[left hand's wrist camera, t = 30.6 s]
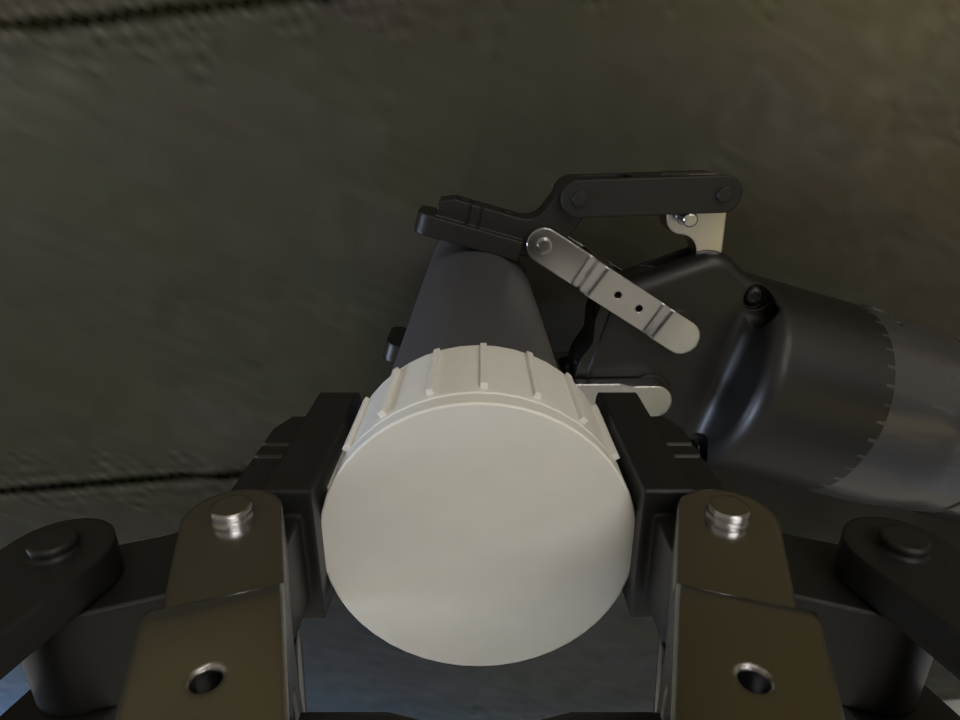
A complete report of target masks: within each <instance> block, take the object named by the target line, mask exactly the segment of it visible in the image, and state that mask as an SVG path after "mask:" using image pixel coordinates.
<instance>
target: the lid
mask: <svg viewBox="0 0 960 720" xmlns="http://www.w3.org/2000/svg"><path fill="white" fill-rule="evenodd" d="M342 450H343V452H342V454H341V456H340V459H339V461H338V463H337V466H336V468H335V470H334V473H333V475H332V477H331V480H330V482H329V484H328V492H327V494H326V497H325V501H324V504H323V508H322V512H321V525H322V535H323V544H324V553H325V562H326V570H327V574H328V577H329V580H330V582H331V584H332V586H333V588H334V589H335V591H336V593H337V595H338V596H339V598H340V599H341V601H342V602H343V603H344V605H345V606H346V607H347V609H348V610H349V611H350V612H351V613H352V614H353V615H354V616H355V617H356V618H357V619H358V620H359V622H360V623H362V624H363V625H364V626H365V627H367V628H368V629H369V630H370V631H371V632H373V633H374V634H375V635H377V636H379V637H380V638H382V639H383V640H385V641H386V642H388V643H390V644H392V645H394V646H396V647H398V648H400V649H402V650H404V651H406V652H408V653H411V654H414V655H417V656H419V657H422V658H426V659H430V660H434V661H438V662H442V663H448V664H455V665H466V666H490V665H502V664H508V663H515V662H519V661H523V660H527V659H531V658H535V657H537V656H540V655H543V654H545V653H548V652H551V651H553V650H555V649H557V648H559V647H561V646H563V645H565V644H567V643H569V642H571V641H572V640H574V639H575V638H577V637H578V636H580V635H581V634H583V633H584V632H585V631H587V630H588V629H589V628H590V627H591V626H593V625H594V624H595V623H596V622H597V621H598V620H599V619H600V618H601V617H602V616H603V615H604V614H605V613H606V612H607V611H608V610H609V608H610V607H611V606H612V604H613V603H614V601H615V600H616V599H617V597H618V596H619V594H620V593H621V591H622V589H623V587H624V585H625V583H626V581H627V579H628V576H629V571H630V563H631V554H632V545H633V536H634V526H635V509H634V506H633V503H632V499H631V496H630V493H629V490H628V488H627V485H626V483H625V481H624V478H623V476H622V473H621V471H620V469H619V466H618V464H617V461H616V460H617V459H619V458H620V457H619V455H618V452H617V450H616V448H615V445H614V443H613V441H612V438H611V436H610V434H609V431H608V429H607V427H606V424H605V422H604V420H603V417H602V415H601V413H600V410H599V408H598V406H597V405H596V404H595V405H593V406H592V405H591V403H590V402H589V400H588V399H587V397H586V396H585V394H584V393H583V392H582V391H581V390H580V389H579V388H578V387H577V385H576V384H575V383H574V381H573V379H572V376H571V375H570V374H569V373H566V374H563V373H562V372H561V371H559V370H558V369H556V368H555V367H553V366H552V365H550V364H548V363H547V362H545V361H543V360H541V359H538V358H536V357H534V356H533V353H532V352H529V351H527V352H526V353H523V352H520V351H517V350H514V349H509V348H503V347H498V346H487V343H480V345H472V346H459V347H454V348H449V349H443V350H440V348H437V349H434V351H433V353H431V354H428V355H425V356H423V357H421V358H419V359H416V360H414V361H412V362H410V363H408V364H407V365H405V366H404V367H402V368H401V369H399V368H398V367H396V368H395V369H394V370H393V371H392V374H391V376H390V377H389V378H388V379H387V380H385V381H384V382H383V383H382V384H381V385H380V387H379V388H378V389H377V390H376V391H375V392H374V393H373V395H372V396H371V397H370V399H369V398H368V397H365V399H364V400H363V402H362V404H361V407H360V409H359V411H358V414H357V416H356V418H355V421H354V423H353V425H352V428H351V430H350V432H349V434H348V437H347V439H346V441H345V444H344V446H343V448H342Z"/></svg>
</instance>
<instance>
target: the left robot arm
mask: <svg viewBox="0 0 960 720" xmlns="http://www.w3.org/2000/svg"><path fill="white" fill-rule="evenodd" d="M361 404H362V401H361V397H360V394H359V393H320V394H319V396H318V397H317V399H316V401H315V402H314V404H313V406H312V407H311V409H310V411H309V412H308V414H307V416H306V417H292V418H290V419H289V420H287V421H286V422H284V423H282V424H281V425H279V426H278V427H276V428H275V429H273V431H272V432H271V434H270V435H269V437H268V438H267V440H266V441H265V443H264V446H262V447H261V448H260V450H259V451H258V453H257V454H256V458H255V459H253V460H252V461H251V463H250V464H249V466H248V467H247V469H246V470H245V472H244V473H243V474H242V476H241V477H240V479H239V480H238V482H237V483H236V485H235V486H234V488H233V489H232V490H231V491H229V492H225V493H222V494H218V495H216V496H213V497H210V498H208V499H206V500H204V501H202V502H201V503H199V504H197V505H196V506H194V507H193V508H192V509H191V510H189V512H188V513H187V514H186V515H185V516H184V518H183V519H182V521H181V524H180V527H179V532H178V533H174V534H171V535H168V536H163V537H159V538H154V539H149V540H144V541H139V542H133V543H128V544H123V545H119V544H118V540H117V537H116V533H115V530H114V527H113V526H112V525H111V524H110V523H108V522H106V521H103V520H100V519H93V518H81V519H72V520H66V521H62V522H58V523H54V524H51V525H48V526H45V527H42V528H40V529H37V530H35V531H32V532H30V533H28V534H26V535H24V536H22V537H21V538H19V539H17V540H16V541H14V542H12V543H11V544H9V545H8V546H6V547H5V548H3V549H1V550H0V680H1V679H2V678H3V677H4V676H5V675H7V674H8V673H9V672H10V671H11V670H13V669H14V668H15V667H16V666H17V665H18V664H20V663H22V666H23V668H24V671H25V674H26V677H27V680H28V682H29V685H30V688H31V689H30V690H29V691H28V692H27V693H26V694H25V695H24V696H23V697H21V698H20V699H19V700H18V701H17V702H16V703H15V704H14V705H12V706H11V707H10V708H9V709H8V710H7V711H6V712H5V713H4V714H2V715H1V716H0V720H417V719H413V718H409V717H405V716H401V715H397V714H393V713H389V712H307V704H306V690H305V677H304V664H303V651H302V643H301V636H300V629H299V627H300V624H301V621H302V618H303V617H326V613H327V610H328V607H329V604H330V601H331V598H332V594H333V591H334V588H333V586H332V584H331V582H330V580H329V577H328V574H327V570H326V562H325V553H324V544H323V535H322V525H321V512H322V508H323V504H324V501H325V497H326V494H327V492H328V484H329V482H330V480H331V477H332V475H333V473H334V470H335V468H336V466H337V463H338V461H339V459H340V456H341V454H342V452H343V450H342V448H343V446H344V444H345V441H346V439H347V437H348V434H349V432H350V430H351V428H352V425H353V423H354V421H355V418H356V416H357V414H358V411H359V409H360V407H361ZM595 404H596V405H597V406H598V408H599V410H600V413H601V415H602V417H603V420H604V422H605V424H606V427H607V429H608V431H609V434H610V436H611V438H612V441H613V443H614V445H615V448H616V450H617V452H618V455H619V457H620V458H619V459H617V460H616V461H617V464H618V466H619V469H620V471H621V473H622V476H623V478H624V481H625V483H626V485H627V488H628V490H629V493H630V496H631V499H632V503H633V506H634V509H635V526H634V536H633V545H632V554H631V563H630V571H629V576H628V579H627V581H626V583H625V585H624V587H623V589H622V590H623V593H624V597H625V600H626V603H627V606H628V610H629V613H630V616H653V618H654V621H655V624H656V627H657V630H658V632H659V635H660V636H659V643H658V651H657V664H656V677H655V690H654V704H653V712H571V713H567V714H563V715H559V716H555V717H551V718H547V719H543V720H960V716H959V715H958V714H956V713H955V712H954V711H953V710H952V709H951V708H950V707H949V706H947V705H946V704H945V703H944V702H943V701H942V700H941V699H940V698H939V697H937V696H936V695H935V694H934V693H933V692H932V691H931V690H930V689H928V688H927V687H926V686H925V685H924V684H925V681H926V678H927V675H928V673H929V670H930V667H931V664H932V661H933V659H936V660H937V661H938V662H939V663H940V664H941V665H943V666H944V667H945V668H946V669H947V670H949V671H950V672H951V673H952V674H953V675H955V676H956V677H957V678H958V679H959V680H960V550H959V549H957V548H955V547H954V546H952V545H951V544H949V543H948V542H946V541H945V540H943V539H941V538H940V537H938V536H936V535H934V534H933V533H930V532H928V531H926V530H924V529H922V528H919V527H917V526H915V525H912V524H909V523H905V522H902V521H898V520H894V519H889V518H882V517H861V518H856V519H853V520H851V521H849V522H847V523H846V524H845V525H844V528H843V530H842V534H841V538H840V542H839V545H836V544H831V543H826V542H821V541H816V540H811V539H806V538H800V537H795V536H791V535H787V534H783V533H782V532H781V527H780V524H779V521H778V519H777V518H776V516H775V515H774V514H773V513H772V512H771V510H769V509H768V508H767V507H766V506H764V505H763V504H761V503H759V502H758V501H756V500H754V499H752V498H750V497H747V496H744V495H742V494H738V493H735V492H731V491H726V490H724V489H723V487H722V486H721V484H720V483H719V481H718V480H717V478H716V477H715V475H714V474H713V473H712V471H711V470H710V468H709V467H708V465H707V464H706V462H705V461H704V459H703V458H701V455H700V453H699V452H698V450H697V449H696V447H695V446H693V445H692V442H691V440H690V439H689V437H688V436H687V434H686V433H685V431H684V430H683V428H681V427H679V426H678V425H676V424H675V423H673V422H672V421H670V420H669V419H667V418H666V417H664V416H650V414H649V413H648V411H647V409H646V408H645V406H644V404H643V403H642V401H641V399H640V398H639V396H638V394H637V393H636V392H598V393H597V396H596V400H595Z"/></svg>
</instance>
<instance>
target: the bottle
mask: <svg viewBox="0 0 960 720" xmlns="http://www.w3.org/2000/svg"><path fill="white" fill-rule="evenodd" d="M480 343H487V346H498V347H503V348H509V349H514V350H517V351H520V352H523V353H526V352H527V351H529V352H532V353H533V356H534V357H536V358H538V359H541V360H543V361H545V362H547V363H548V364H550V365H552V366H553V367H555V368H556V369H558V367H557V364H556V361H555V358H554V355H553V352H552V349H551V346H550V343H549V340H548V337H547V334H546V331H545V328H544V325H543V322H542V319H541V316H540V313H539V310H538V307H537V304H536V301H535V298H534V295H533V292H532V289H531V286H530V283H529V280H528V277H527V274H526V271H525V268H524V265H523V262H522V259H521V256H520V255H519V258H518V261H514V260H510V259H507V258H503V257H500V256H497V255H494V254H491V253H486V252H482V251H478V250H475V249H471V248H468V247H464V246H460V245H457V244H453V243H450V242H446V241H443V240H439V241H438V243H437V245H436V247H435V249H434V252H433V255H432V258H431V261H430V263H429V266H428V269H427V272H426V275H425V278H424V281H423V283H422V286H421V289H420V292H419V295H418V298H417V301H416V303H415V306H414V309H413V312H412V315H411V318H410V320H409V323H408V326H407V329H406V332H405V335H404V338H403V340H402V343H401V346H400V349H399V352H398V355H397V357H396V360H395V363H394V366H393V369H392V371H393V370H394V369H395V368H396V367H398V368H399V369H401V368H402V367H404V366H405V365H407V364H408V363H410V362H412V361H414V360H416V359H419V358H421V357H423V356H425V355H428V354H431V353H433V351H434V349H437V348H440V350H443V349H449V348H454V347H459V346H472V345H480ZM391 374H392V372H391ZM390 376H391V375H390Z"/></svg>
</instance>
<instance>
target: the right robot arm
mask: <svg viewBox="0 0 960 720" xmlns="http://www.w3.org/2000/svg"><path fill="white" fill-rule="evenodd" d="M741 197H742V187H741V184H740V182H739V181H738V180H737V179H736V178H734V177H732V176H728V175H723V174H718V173H713V172H708V171H702V170H698V171H666V172H633V173H601V174H569V175H564V176H562V177H561V178H559V179H558V180H557V181H556V183H555V185H554V187H553V190H552V192H551V193H550V194H549V196H548V197H547V198H546V200H545V201H544V203H543V204H542V205H541V206H540V207H539V208H538V209H537V210H535V211H533V212H531V213H526V214H522V213H517V212H514V211H510V210H507V209H503V208H500V207H496V206H493V205H489V204H486V203H482V202H479V201H476V200H472V199H469V198H465V197H462V196H458V195H451V196H442V197H441V199H440V200H439V204H438V208H434V207H430V206H421V208H420V209H419V211H418V215H417V220H416V224H415V228H414V231H415V232H417V233H419V234H422V235H425V236H429V237H432V238H436V239H439V240H443V241H446V242H450V243H453V244H457V245H460V246H464V247H468V248H471V249H475V250H478V251H482V252H486V253H491V254H494V255H497V256H500V257H503V258H507V259H510V260H514V261H518V258H519V255H523V256H526V257H530V258H531V259H533V260H534V261H536V262H537V263H539V264H540V265H542V266H543V267H545V268H547V269H548V270H550V271H551V272H553V273H554V274H556V275H558V276H559V277H561V278H562V279H564V280H565V281H567V282H569V283H570V284H572V285H573V286H574V287H576V288H577V289H578V290H579V291H580V292H582V293H583V294H584V295H586V296H587V297H589V298H588V300H587V303H586V309H585V321H584V326H583V328H582V329H581V331H580V332H579V333H578V335H577V336H576V338H575V339H574V341H573V342H572V345H571V348H570V351H569V352H553V355H554V358H555V361H556V364H557V367H558V370H559V371H561V372H562V373H563V374H566V373H569V374H570V375H571V376H572V379H573V381H574V383H575V384H576V385H577V387H578V388H579V389H580V390H581V391H582V392H583V393H584V394H585V396H586V397H587V399H588V400H589V402H590V403H591V405H592V406H593V405H595V400H596V396H597V393H598V392H636V393H637V394H638V396H639V398H640V399H641V401H642V403H643V404H644V406H645V408H646V409H647V411H648V413H649V414H650V416H664V417H666V418H667V419H669V420H670V421H672V422H673V423H675V424H676V425H678V426H679V427H681V428H683V430H684V431H685V433H686V434H687V436H688V437H689V439H690V440H691V442H692V445H693V446H695V447H696V449H697V450H698V452H699V453H700V455H701V458H703V459H704V461H705V462H706V464H707V465H708V466H711V467H715V468H719V469H723V470H727V471H731V472H734V473H738V474H742V475H746V476H750V477H754V478H758V479H762V480H766V481H770V482H774V483H778V484H782V485H786V486H790V487H794V488H798V489H802V490H806V491H810V492H814V493H818V494H822V495H826V496H830V497H833V498H837V499H841V500H845V501H849V502H854V503H859V504H865V505H872V506H880V507H891V508H900V509H905V510H911V511H915V512H919V513H923V514H927V515H930V516H934V517H938V518H942V519H946V520H950V521H954V522H958V523H960V341H958V340H956V339H954V338H951V337H949V336H947V335H945V334H943V333H941V332H939V331H937V330H935V329H932V328H930V327H928V326H925V325H923V324H920V323H917V322H914V321H911V320H907V319H904V318H900V317H897V316H894V315H891V314H890V313H888V312H886V311H884V310H883V309H880V308H877V307H873V306H867V305H856V304H853V303H849V302H846V301H842V300H839V299H836V298H832V297H829V296H825V295H822V294H818V293H815V292H811V291H808V290H804V289H801V288H797V287H794V286H791V285H787V284H784V283H780V282H777V281H773V280H770V279H766V278H763V277H760V276H756V275H753V274H749V273H746V272H744V271H742V270H741V269H740V268H739V267H738V266H737V265H736V264H735V263H734V262H733V260H732V259H731V258H730V257H728V256H727V255H725V254H724V253H722V245H723V236H724V228H725V219H726V212H729V211H731V210H732V209H734V208H735V207H736V206H737V205H738V203H739V202H740V200H741ZM642 215H659V218H660V222H661V224H662V225H663V226H664V227H665V228H667V229H669V230H671V231H672V232H674V233H677V234H682V235H684V236H685V237H686V239H687V241H688V247H687V248H684V249H681V250H678V251H675V252H673V253H670V254H667V255H664V256H661V257H658V258H655V259H653V260H650V261H647V262H644V263H641V264H638V265H636V266H633V267H630V268H627V269H624V270H623V269H622V268H620V267H619V266H617V265H616V264H614V263H613V262H611V261H610V260H608V259H607V258H605V257H604V256H602V255H600V254H599V253H597V252H596V251H594V250H593V249H591V248H590V247H588V246H586V245H584V244H582V243H581V242H579V241H578V240H576V239H574V238H573V237H571V236H570V234H571V233H572V232H573V230H574V229H575V228H576V227H577V225H578V224H579V223H580V221H581V220H582V219H583V217H609V216H642ZM406 329H407V328H404V327H393V328H392V329H391V332H390V334H389V336H388V339H387V343H386V347H385V351H384V355H383V357H384V359H386V360H387V361H389V362H391V363H395V360H396V357H397V355H398V352H399V349H400V346H401V343H402V340H403V338H404V335H405V332H406ZM566 367H567V368H566Z"/></svg>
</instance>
